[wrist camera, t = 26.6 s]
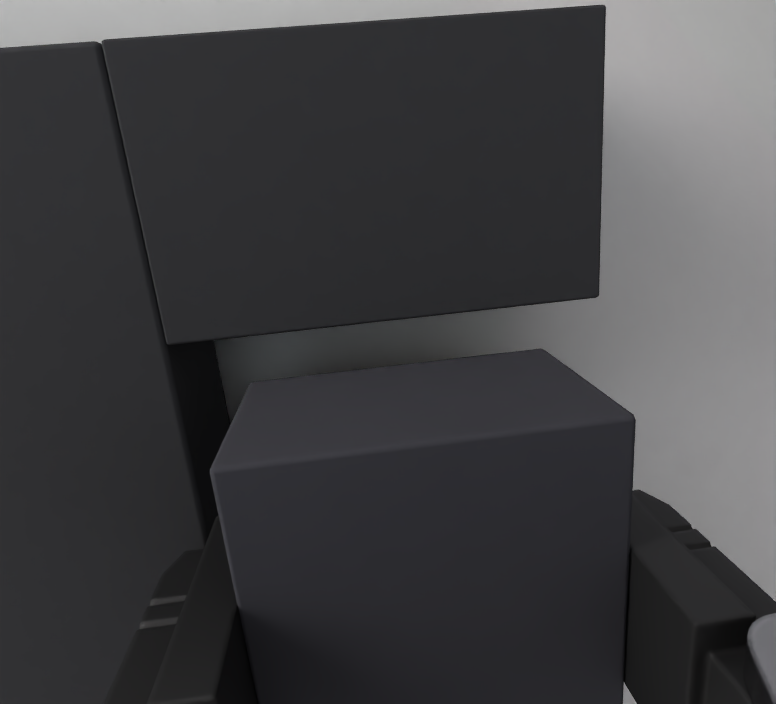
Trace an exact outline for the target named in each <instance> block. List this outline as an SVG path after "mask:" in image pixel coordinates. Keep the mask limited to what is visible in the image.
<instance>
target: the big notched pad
mask: <svg viewBox="0 0 776 704" xmlns="http://www.w3.org/2000/svg"><path fill="white" fill-rule="evenodd" d="M605 17H606V7H605V6H604V5H592V6H578V7H564V8H549V9H535V10H521V11H506V12H492V13H478V14H464V15H449V16H435V17H421V18H406V19H392V20H378V21H364V22H349V23H335V24H321V25H306V26H292V27H278V28H264V29H249V30H235V31H221V32H206V33H192V34H178V35H164V36H149V37H135V38H121V39H106V40H103V41H102V44H101V43H98V42H95V41H93V42H79V43H65V44H51V45H36V46H22V47H8V48H0V704H103V703H104V701H105V699H106V696H107V694H108V692H109V690H110V688H111V685H112V683H113V681H114V679H115V677H116V674H117V672H118V670H119V668H120V666H121V663H122V661H123V659H124V657H125V655H126V653H127V650H128V648H129V646H130V644H131V642H132V639H133V637H134V635H135V633H136V631H137V630H139V629H140V622H141V620H142V617H143V615H144V613H145V611H146V609H147V607H148V606H150V600H151V598H152V595H153V593H154V591H155V589H156V587H157V585H158V582H159V580H160V578H161V576H162V574H163V573H164V572H165V571H166V570H167V569H168V568H169V567H170V566H171V565H172V564H173V563H174V562H175V561H176V560H177V559H178V558H179V557H180V556H181V555H182V554H183V553H184V552H185V551H191V550H198V549H204V547H205V545H206V542H207V539H208V537H209V534H210V531H211V528H212V526H213V523H214V520H215V518H216V517H217V516H219V515H218V510H217V505H216V500H215V496H214V491H213V486H212V481H211V476H210V468H211V466H212V464H213V462H214V459H215V457H216V455H217V453H218V451H219V449H220V446H221V444H222V442H223V440H224V438H225V436H226V434H227V431H228V429H229V427H230V425H229V419H228V414H227V409H226V404H225V398H224V393H223V388H222V383H221V377H220V372H219V367H218V362H217V356H216V351H215V346H214V340H219V339H228V338H237V337H246V336H255V335H264V334H273V333H282V332H291V331H300V330H309V329H318V328H327V327H336V326H345V325H354V324H363V323H372V322H381V321H390V320H399V319H408V318H417V317H426V316H435V315H444V314H453V313H462V312H471V311H480V310H489V309H498V308H507V307H516V306H525V305H534V304H543V303H552V302H561V301H570V300H579V299H588V298H596V297H598V296H599V274H600V231H601V188H602V145H603V103H604V60H605Z"/></svg>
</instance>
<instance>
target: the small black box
mask: <svg viewBox="0 0 776 704" xmlns="http://www.w3.org/2000/svg"><path fill="white" fill-rule="evenodd" d="M635 423H636V420H635V417H634V415H633V414H632V413H630V412H629V411H628V410H626V409H625V408H623V407H622V406H621V405H619V404H618V403H617V402H615V401H614V400H612V399H611V398H610V397H608V396H607V395H606V394H604V393H603V392H601V391H600V390H599V389H597V388H596V387H595V386H593V385H592V384H590V383H589V382H588V381H586V380H585V379H584V378H582V377H581V376H579V375H578V374H577V373H575V372H574V371H573V370H571V369H570V368H568V367H567V366H566V365H564V364H563V363H562V362H560V361H559V360H557V359H556V358H555V357H553V356H552V355H551V354H549V353H548V352H546V351H545V350H543V349H534V350H525V351H516V352H508V353H499V354H490V355H482V356H473V357H464V358H456V359H447V360H438V361H430V362H421V363H412V364H404V365H395V366H386V367H378V368H369V369H360V370H352V371H343V372H334V373H326V374H317V375H308V376H300V377H291V378H282V379H274V380H265V381H256V382H252V383H250V384H249V386H248V388H247V391H246V393H245V395H244V397H243V399H242V401H241V403H240V406H239V408H238V410H237V412H236V414H235V416H234V419H233V421H232V423H231V425H230V427H229V429H228V431H227V434H226V436H225V438H224V440H223V442H222V444H221V446H220V449H219V451H218V453H217V455H216V457H215V459H214V462H213V464H212V466H211V468H210V476H211V481H212V486H213V491H214V496H215V500H216V505H217V510H218V515H219V520H220V524H221V529H222V534H223V539H224V544H225V549H226V553H227V558H228V563H229V568H230V573H231V577H232V582H233V587H234V592H235V597H236V602H237V605H238V610H239V615H240V620H241V625H242V629H243V634H244V639H245V644H246V649H247V654H248V658H249V663H250V668H251V673H252V678H253V682H254V687H255V692H256V697H257V702H258V704H623V685H624V663H625V641H626V619H627V597H628V576H629V554H630V532H631V510H632V488H633V467H634V445H635Z"/></svg>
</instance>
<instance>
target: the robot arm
mask: <svg viewBox="0 0 776 704" xmlns="http://www.w3.org/2000/svg"><path fill="white" fill-rule="evenodd" d="M624 683H625V684H626V686H627V688H628V689H629V691H630V693H631V694H632V696H633V698H634V699H635V701H636V703H637V704H776V602H775V601H774V600H773V599H772V598H771V597H770V596H769V595H768V594H767V593H765V592H764V591H763V590H762V589H761V588H760V587H759V586H758V585H757V584H756V583H754V582H753V581H752V580H751V579H750V578H749V577H748V576H747V575H746V574H745V573H744V572H742V571H741V570H740V569H739V568H738V567H737V566H736V565H735V564H734V563H733V562H731V561H730V560H729V559H728V558H727V557H726V556H725V555H724V554H723V553H722V552H720V551H719V550H718V549H717V548H716V547H711V545H710V541H708V540H707V539H706V538H705V537H704V536H703V535H702V534H701V533H700V532H699V531H697V530H696V529H692V527H691V524H690V523H689V522H688V521H686V520H685V519H684V518H683V517H682V516H681V515H680V514H679V513H678V512H677V511H675V510H674V509H673V508H672V507H671V506H670V505H669V504H667V503H665V502H663V501H661V500H659V499H657V498H655V497H653V496H651V495H649V494H647V493H645V492H643V491H641V490H634V491H632V510H631V532H630V554H629V576H628V597H627V619H626V641H625V663H624ZM103 704H258V702H257V697H256V692H255V687H254V682H253V678H252V673H251V668H250V663H249V658H248V654H247V649H246V644H245V639H244V634H243V629H242V625H241V620H240V615H239V610H238V605H237V602H236V597H235V592H234V587H233V582H232V577H231V573H230V568H229V563H228V558H227V553H226V549H225V544H224V539H223V534H222V529H221V524H220V520H219V516H217V517H216V518H215V520H214V523H213V526H212V528H211V531H210V534H209V537H208V539H207V542H206V545H205V547H204V549H198V550H191V551H185V552H184V553H183V554H182V555H181V556H180V557H179V558H178V559H177V560H176V561H175V562H174V563H173V564H172V565H171V566H170V567H169V568H168V569H167V570H166V571H165V572H164V573H163V574H162V576H161V578H160V580H159V582H158V585H157V587H156V589H155V591H154V593H153V595H152V598H151V600H150V606H148V607H147V609H146V611H145V613H144V615H143V617H142V620H141V622H140V629H139V630H137V631H136V633H135V635H134V637H133V639H132V642H131V644H130V646H129V648H128V650H127V653H126V655H125V657H124V659H123V661H122V663H121V666H120V668H119V670H118V672H117V674H116V677H115V679H114V681H113V683H112V685H111V688H110V690H109V692H108V694H107V696H106V699H105V701H104V703H103Z"/></svg>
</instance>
